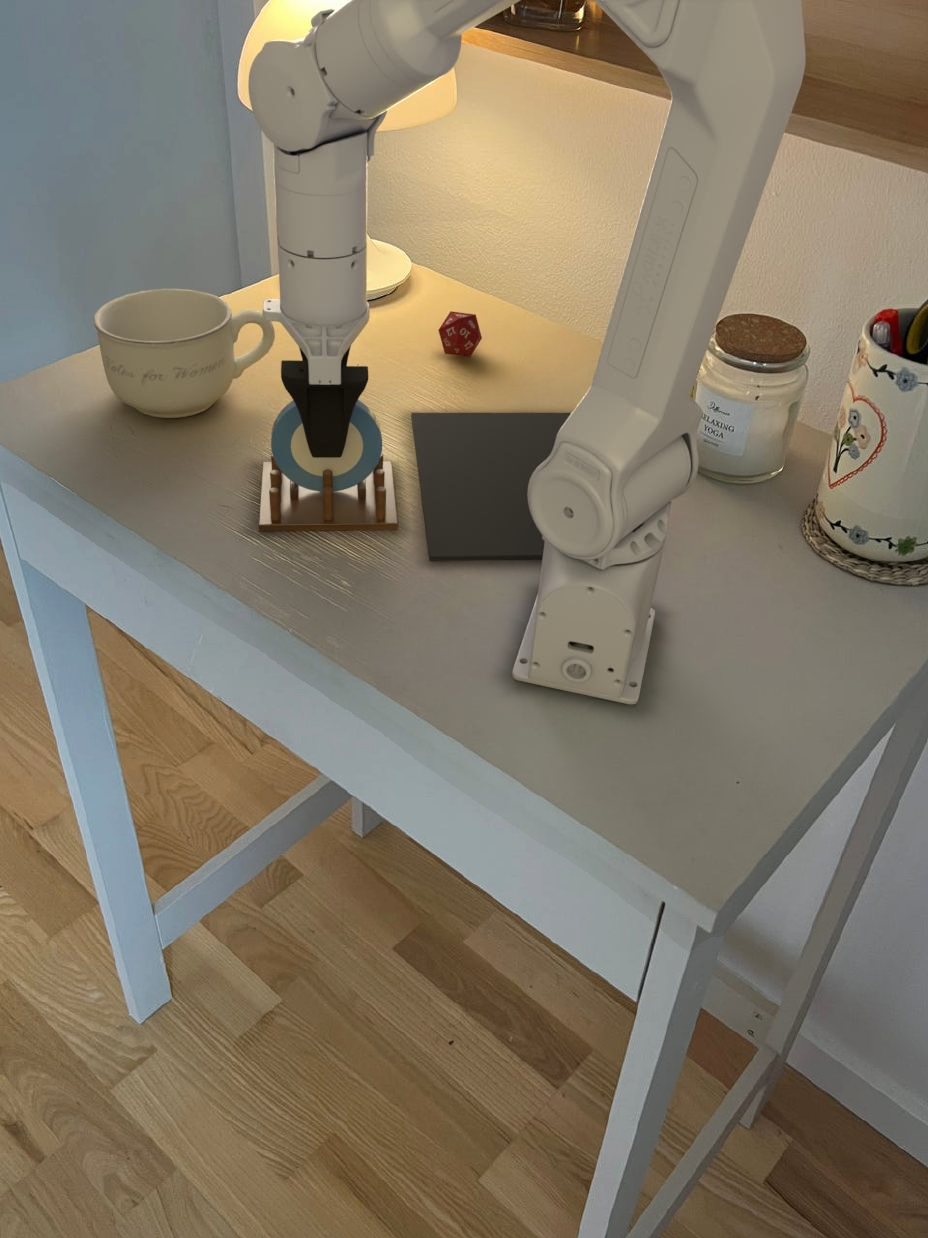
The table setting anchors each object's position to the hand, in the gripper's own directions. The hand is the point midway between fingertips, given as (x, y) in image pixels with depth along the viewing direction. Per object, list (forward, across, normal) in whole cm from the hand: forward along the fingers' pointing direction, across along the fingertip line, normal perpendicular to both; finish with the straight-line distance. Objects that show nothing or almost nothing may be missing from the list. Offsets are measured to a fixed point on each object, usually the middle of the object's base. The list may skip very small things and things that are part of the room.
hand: (326, 426), depth 81 cm
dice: (+6, -23, +12) cm, 27 cm away
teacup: (+6, -15, -11) cm, 20 cm away
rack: (+6, 0, 0) cm, 6 cm away
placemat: (+6, -2, +14) cm, 16 cm away
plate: (+1, 0, 0) cm, 1 cm away
